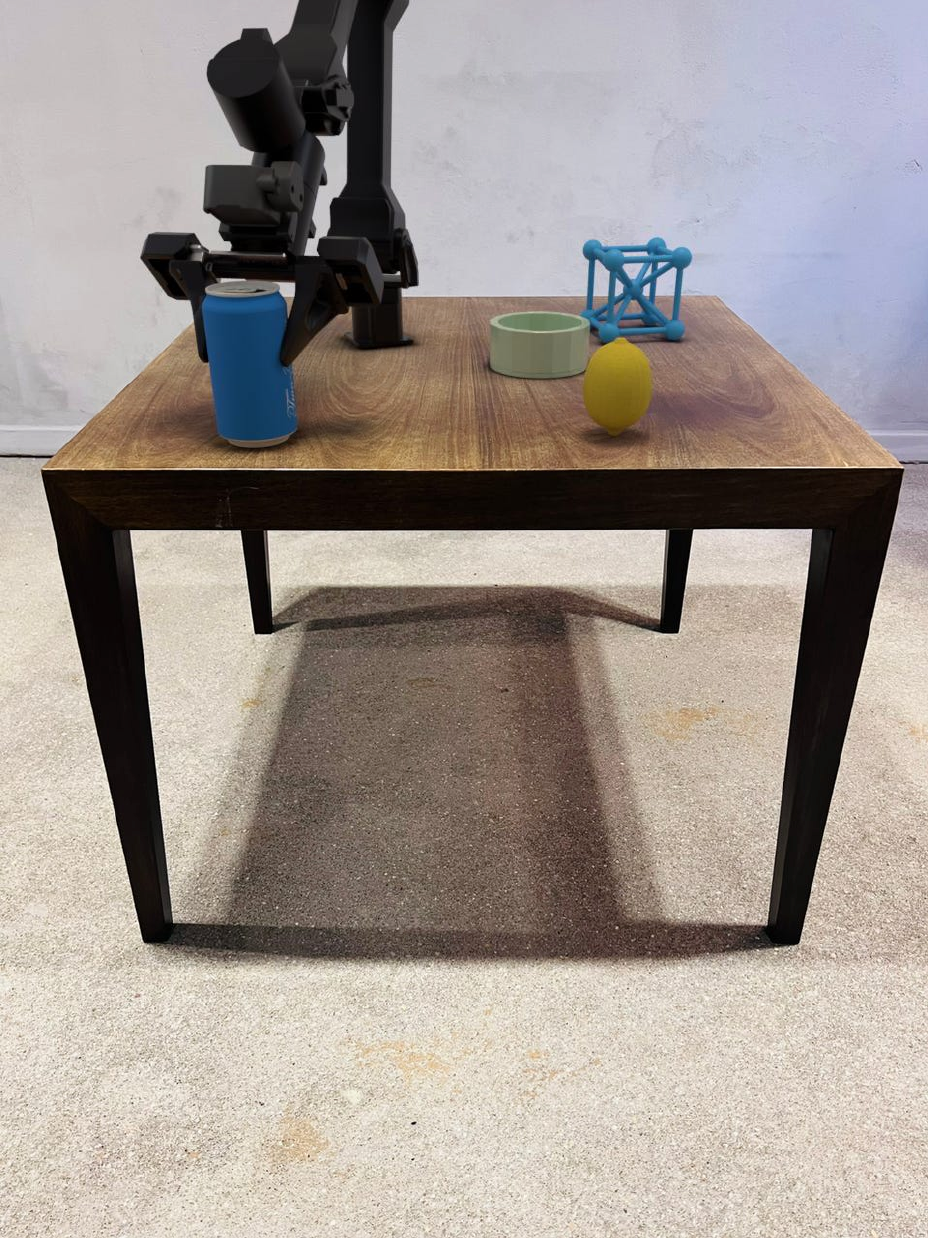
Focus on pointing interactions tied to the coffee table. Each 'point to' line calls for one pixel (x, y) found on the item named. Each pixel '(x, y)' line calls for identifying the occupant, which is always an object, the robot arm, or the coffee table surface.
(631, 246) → the molecular structure
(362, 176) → the robot arm
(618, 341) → the lemon
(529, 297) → the coffee table surface
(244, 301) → the beverage can
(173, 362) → the coffee table surface
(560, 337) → the collar
